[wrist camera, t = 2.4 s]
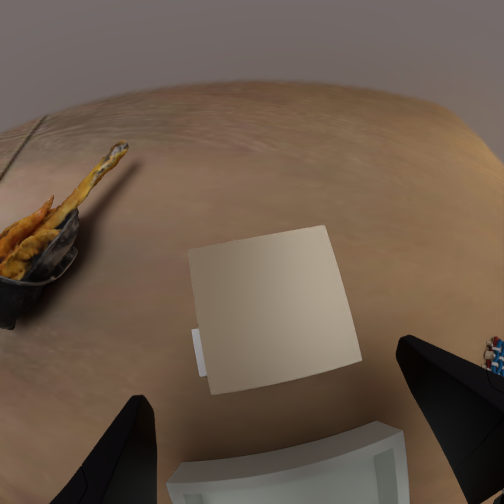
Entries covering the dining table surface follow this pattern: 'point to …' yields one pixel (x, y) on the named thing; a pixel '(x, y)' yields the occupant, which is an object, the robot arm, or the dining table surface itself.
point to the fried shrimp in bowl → (43, 245)
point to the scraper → (270, 310)
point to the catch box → (304, 473)
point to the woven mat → (495, 356)
